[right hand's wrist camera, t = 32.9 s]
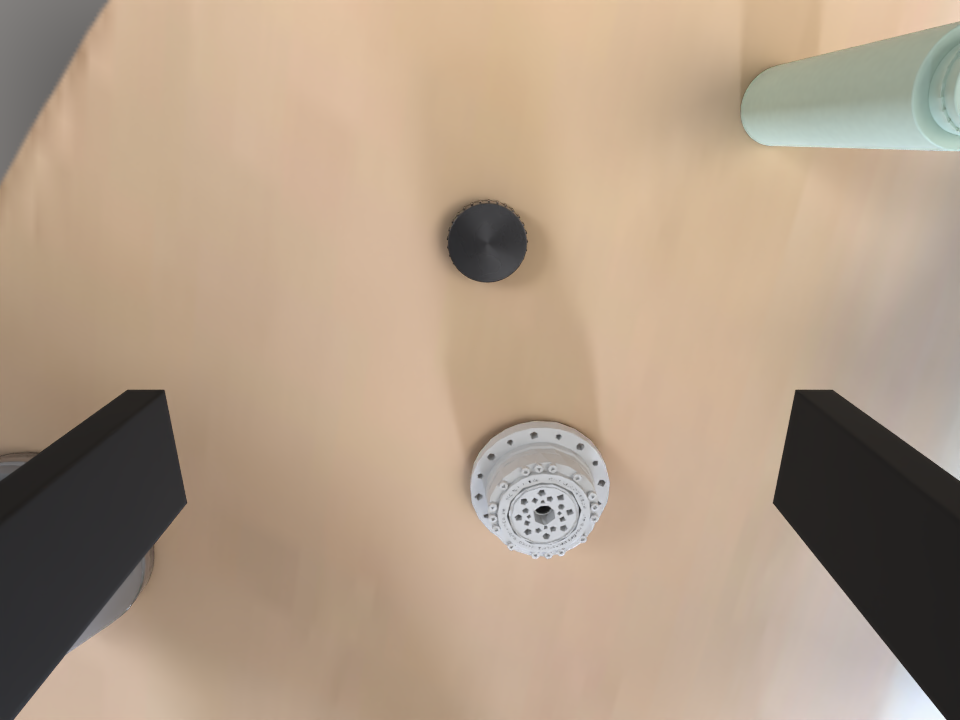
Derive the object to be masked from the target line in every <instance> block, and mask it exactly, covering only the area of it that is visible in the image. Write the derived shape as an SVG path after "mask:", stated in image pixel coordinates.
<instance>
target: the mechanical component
mask: <svg viewBox="0 0 960 720" xmlns="http://www.w3.org/2000/svg"><path fill="white" fill-rule="evenodd" d="M609 486H610V481H609V477H608V473H607V469H606V465H605V462H604V460H603V458H602V455H601V453H600V452H599V450H598V449H597V448H596V446H595V445H594V444H593V442H592V441H591V440H590V439H589V438H587V437H586V436H584V435H583V434H582V433H580V432H579V431H577V430H576V429H574V428H571V427H569V426H566V425H563V424H561V423H558V422H546V421H532V422H526V423H521V424H517V425H515V426H512V427H510V428H507V429H505V430H504V431H502V432H501V433H499V434H497V435H496V436H494V437H493V438H491V440H490V441H489V442H488V443H487V444H486V445H485V446H484V448H483V449H482V450H481V451H480V452H479V454H478V456H477V458H476V460H475V462H474V465H473V469H472V474H471V479H470V489H471V499H472V504H473V507H474V509H475V511H476V513H477V515H478V518H479V519H480V520H481V521H482V523H483V524H484V525H485V526H486V527H487V528H488V529H489V531H490V532H492V533H493V534H495V535H496V536H497V537H498V538H499V539H500V540H501V541H502V542H503V543H504V544H506V545H507V547H508V549H509V550H510V551H511V550H515V551H517V552H521V553H524V554H527V555H531V556H532V558H534V559H537V558H538V557H539V556H545V558H547V559H549V558H551V557H552V555H556V554H558V555H559V556H563V555H564V554H565V552H566V551H568V550H570V549H572V548H574V547H576V546H577V545H578V544H580V543H584V542H586V540H587V538H586V537H587V536H588V535H589V533H590V532H591V531H592V530H593V527H594V525H595V522H597V521H598V520H599V517H600V515H601V513H602V511H603V509H604V507H605V505H606V503H607V501H608V493H609Z"/></svg>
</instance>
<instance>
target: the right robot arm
mask: <svg viewBox="0 0 960 720" xmlns="http://www.w3.org/2000/svg"><path fill="white" fill-rule="evenodd" d="M186 504H187V500H186V495H185V490H184V485H183V480H182V475H181V470H180V465H179V460H178V455H177V450H176V445H175V440H174V435H173V430H172V425H171V420H170V415H169V410H168V405H167V400H166V395H165V390H127V391H125V392H124V393H122V394H121V395H120V396H118V397H117V398H115V399H114V400H113V401H111V402H110V403H109V404H107V405H106V406H104V407H103V408H102V409H100V410H99V411H97V412H96V413H95V414H93V415H92V416H90V417H89V418H88V419H86V420H85V421H83V422H82V423H81V424H79V425H78V426H76V427H75V428H74V429H72V430H71V431H69V432H68V433H67V434H65V435H64V436H62V437H61V438H60V439H58V440H57V441H55V442H54V443H53V444H51V445H50V446H49V447H47V448H46V449H44V450H43V451H42V452H40V453H39V454H38V453H16V454H8V455H3V456H0V720H14V719H15V717H16V716H17V715H18V714H19V712H20V711H21V710H22V709H23V707H24V706H25V705H26V704H27V702H28V701H29V700H30V699H31V697H32V696H33V695H34V694H35V692H36V691H37V690H38V689H39V687H40V686H41V685H42V684H43V682H44V681H45V680H46V679H47V677H48V676H49V675H50V674H51V672H52V671H53V670H54V669H55V667H56V666H57V665H58V664H59V662H60V661H61V660H62V659H63V657H64V656H65V655H66V654H67V653H69V652H70V651H72V650H73V649H75V648H76V647H78V646H79V645H81V644H82V643H83V642H85V641H86V640H88V639H89V638H91V637H92V636H94V635H95V634H97V633H98V632H99V631H101V630H102V629H104V628H105V627H107V626H108V625H110V624H111V623H113V622H114V621H115V620H116V619H118V618H119V617H120V616H121V615H123V614H124V613H125V612H126V611H127V610H128V609H129V608H130V606H131V605H132V604H133V602H134V601H135V600H136V598H137V597H138V596H139V594H140V593H141V592H142V590H143V589H144V588H145V586H146V584H147V583H148V581H149V578H150V576H151V573H152V569H153V563H154V548H153V545H154V544H155V542H156V541H157V540H158V539H159V537H160V536H161V535H162V534H163V532H164V531H165V530H166V529H167V527H168V526H169V525H170V524H171V522H172V521H173V520H174V519H175V517H176V516H177V515H178V514H179V512H180V511H181V510H182V509H183V507H184V506H185V505H186ZM773 504H774V505H775V506H776V507H777V509H778V510H779V511H780V512H781V514H782V515H783V516H784V517H785V519H786V520H787V521H788V522H789V524H790V525H791V526H792V527H793V529H794V530H795V531H796V532H797V534H798V535H799V536H800V537H801V539H802V540H803V541H804V542H805V544H806V545H807V546H808V547H809V549H810V550H811V551H812V552H813V554H814V555H815V556H816V557H817V559H818V560H819V561H820V562H821V564H822V565H823V566H824V567H825V569H826V570H827V571H828V572H829V574H830V575H831V576H832V577H833V579H834V580H835V581H836V582H837V584H838V585H839V586H840V587H841V589H842V590H843V591H844V592H845V594H846V595H847V596H848V597H849V599H850V600H851V601H852V602H853V604H854V605H855V606H856V607H857V609H858V610H859V611H860V612H861V614H862V615H863V616H864V617H865V619H866V620H867V621H868V622H869V624H870V625H871V626H872V627H873V629H874V630H875V631H876V632H877V634H878V635H879V636H880V637H881V639H882V640H883V641H884V642H885V644H886V645H887V646H888V647H889V649H890V650H891V651H892V652H893V654H894V655H895V656H896V657H897V659H898V660H899V661H900V662H901V664H902V665H903V666H904V667H905V669H906V670H907V671H908V672H909V674H910V675H911V676H912V677H913V679H914V680H915V681H916V682H917V684H918V685H919V686H920V687H921V689H922V690H923V691H924V692H925V694H926V695H927V696H928V697H929V699H930V700H931V701H932V702H933V704H934V705H935V706H936V707H937V709H938V710H939V711H940V712H941V714H942V715H943V716H944V717H945V719H946V720H960V481H959V480H958V479H956V478H955V477H953V476H952V475H951V474H949V473H948V472H946V471H945V470H944V469H942V468H941V467H939V466H938V465H937V464H935V463H934V462H932V461H931V460H930V459H928V458H927V457H925V456H924V455H923V454H921V453H920V452H918V451H917V450H916V449H914V448H913V447H911V446H910V445H909V444H907V443H906V442H905V441H903V440H902V439H900V438H899V437H898V436H896V435H895V434H893V433H892V432H891V431H889V430H888V429H886V428H885V427H884V426H882V425H881V424H879V423H878V422H877V421H875V420H874V419H872V418H871V417H870V416H868V415H867V414H865V413H864V412H863V411H861V410H860V409H858V408H857V407H856V406H854V405H853V404H851V403H850V402H849V401H847V400H846V399H845V398H843V397H842V396H840V395H839V394H838V393H836V392H835V391H833V390H795V395H794V400H793V405H792V410H791V415H790V420H789V425H788V430H787V435H786V440H785V445H784V450H783V455H782V460H781V465H780V470H779V475H778V480H777V485H776V490H775V495H774V500H773Z"/></svg>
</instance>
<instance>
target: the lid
mask: <svg viewBox="0 0 960 720" xmlns="http://www.w3.org/2000/svg"><path fill="white" fill-rule="evenodd" d="M519 218H520V217H519V215H516V213H515V212H514V210H513V209H510V208H509V207H507V205H506V204H502V203H499V202H498V201H496V202H495V201H490V199H488V201H481V200H479V202H476V203H473V202H472V203H471V205H469V206H467V207H464V208H463V210H462V211H461V212H460V213H459V212H458V213H457V216H456V218H455V220H454V219H453V220H452V226H451V227H450V228H449V231H450V232H449V236H448V237H447V240H448V246H447V248H448V250H449V254H450V255H449V256H450V257H451V259H452V261H453V264H454V265H455V266H456V267H457V269H458V270H459V271H460V272H461V273H462V274H464V275H465V276H467V277H468V278H470V279H473V280H475V281H479V282H495V281H499V280H502V279H504V278H506V277H508V276H509V275H511V274H512V273H513V272H514V271H515V270H516V269H517V268H518V267H519V266H520V264H521V263H522V261H523V259H524V256H525V253H526V251H527V249H526V248H527V243H528V241H527V237H526V234H527V232H526V230H525V229H524V227H523V226H524V223H523V222H521V221H520V219H519Z"/></svg>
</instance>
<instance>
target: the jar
mask: <svg viewBox="0 0 960 720" xmlns="http://www.w3.org/2000/svg"><path fill="white" fill-rule="evenodd" d="M741 120H742V124H743V127H744V129H745V131H746V132H747V134H748V135H749V136H750V137H751V138H752V139H753V140H755V141H756V142H758V143H760V144H763V145H769V146H797V147H832V148H866V149H901V150H935V151H960V22H955V23H951V24H947V25H943V26H939V27H935V28H931V29H926V30H922V31H918V32H914V33H910V34H906V35H902V36H897V37H893V38H889V39H885V40H881V41H877V42H873V43H868V44H864V45H860V46H856V47H852V48H848V49H844V50H839V51H835V52H831V53H827V54H823V55H819V56H815V57H810V58H806V59H802V60H798V61H794V62H790V63H786V64H781V65H777V66H774V67H771V68H769V69H767V70H765V71H763V72H762V73H760V74H759V75H758V76H757V77H756V78H755V79H754V80H753V81H752V82H751V84H750V85H749V86H748V88H747V90H746V92H745V94H744V97H743V100H742V104H741Z"/></svg>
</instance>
